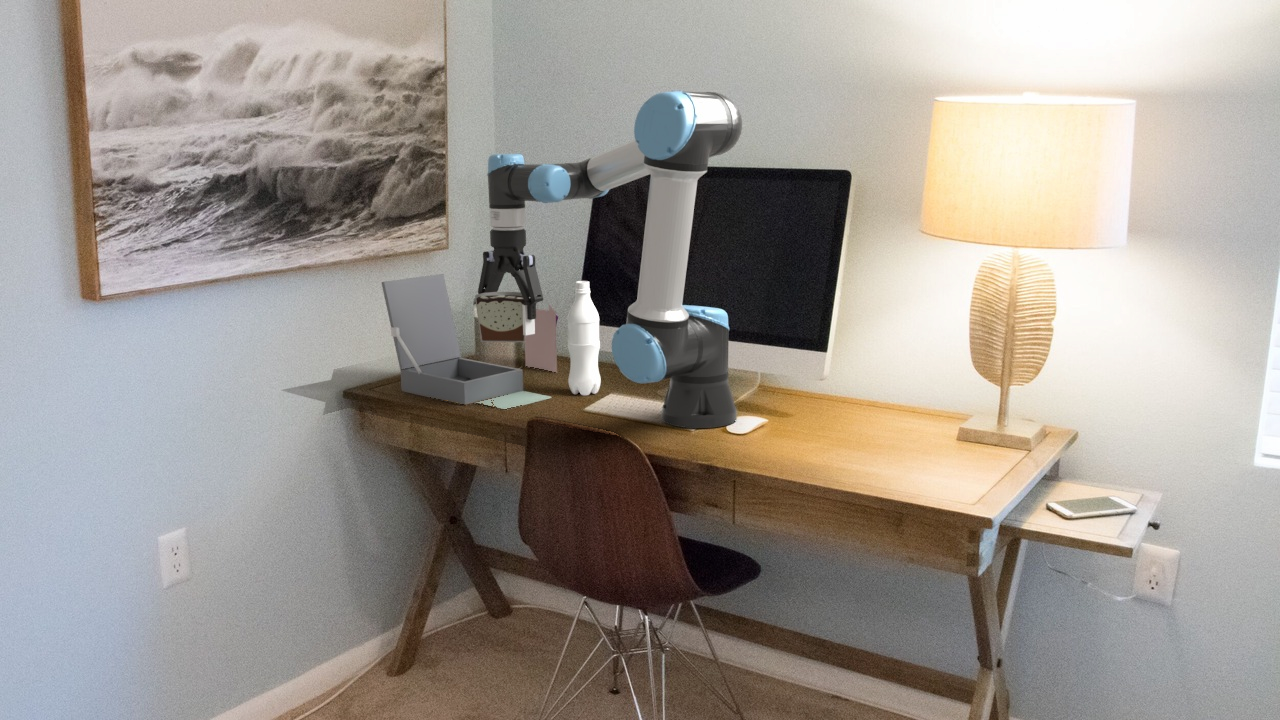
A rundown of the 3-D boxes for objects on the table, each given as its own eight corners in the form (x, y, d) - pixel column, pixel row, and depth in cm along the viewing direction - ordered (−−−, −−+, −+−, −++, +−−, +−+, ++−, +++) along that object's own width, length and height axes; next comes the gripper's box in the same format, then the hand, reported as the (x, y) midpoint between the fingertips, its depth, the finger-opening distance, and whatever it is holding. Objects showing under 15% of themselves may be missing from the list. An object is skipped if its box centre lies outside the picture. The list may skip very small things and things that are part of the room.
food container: (535, 336, 246) (534, 291, 244) (531, 342, 240) (530, 295, 238) (479, 336, 247) (478, 291, 245) (474, 341, 241) (472, 295, 239)
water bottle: (582, 398, 247) (579, 285, 242) (562, 392, 252) (559, 281, 247) (607, 393, 252) (605, 281, 247) (587, 387, 257) (585, 278, 252)
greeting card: (560, 372, 273) (559, 311, 270) (530, 374, 271) (528, 312, 268) (554, 363, 284) (552, 304, 281) (524, 364, 282) (522, 305, 279)
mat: (551, 398, 248) (551, 396, 248) (503, 410, 237) (503, 408, 237) (523, 392, 254) (523, 390, 254) (475, 403, 243) (475, 402, 243)
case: (523, 391, 254) (519, 282, 249) (464, 405, 242) (459, 291, 237) (445, 374, 272) (440, 273, 267) (386, 387, 259) (380, 281, 254)
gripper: (458, 226, 243) (462, 327, 247) (532, 232, 228) (535, 340, 232) (484, 224, 248) (488, 323, 253) (559, 230, 233) (561, 335, 238)
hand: (511, 331), depth 242 cm, fingers closed on food container, 10 cm apart
